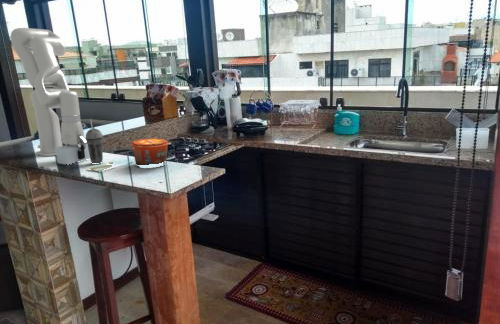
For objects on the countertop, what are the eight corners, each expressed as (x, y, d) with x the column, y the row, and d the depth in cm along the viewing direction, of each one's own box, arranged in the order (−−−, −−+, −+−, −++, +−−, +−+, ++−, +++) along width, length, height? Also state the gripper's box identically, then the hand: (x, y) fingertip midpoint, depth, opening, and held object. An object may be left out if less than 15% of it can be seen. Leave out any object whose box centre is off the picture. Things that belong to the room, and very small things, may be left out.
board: (86, 170, 153) (86, 168, 152) (119, 160, 168) (119, 158, 168) (100, 172, 149) (100, 170, 149) (132, 162, 165) (132, 160, 164)
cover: (57, 163, 164) (55, 147, 162) (83, 156, 176) (82, 142, 174) (68, 164, 161) (66, 149, 159) (94, 158, 173) (92, 143, 171)
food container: (177, 163, 163) (176, 140, 161) (149, 172, 150) (148, 146, 148) (152, 159, 172) (151, 136, 169) (124, 166, 159) (122, 142, 156)
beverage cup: (109, 161, 166) (104, 118, 161) (98, 165, 159) (93, 120, 154) (95, 160, 168) (90, 117, 163) (84, 164, 161) (79, 119, 156)
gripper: (50, 119, 164) (55, 157, 168) (77, 121, 156) (82, 161, 161) (65, 117, 170) (70, 154, 175) (91, 119, 163) (96, 158, 167)
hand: (75, 157), depth 168 cm, fingers closed on cover, 7 cm apart
